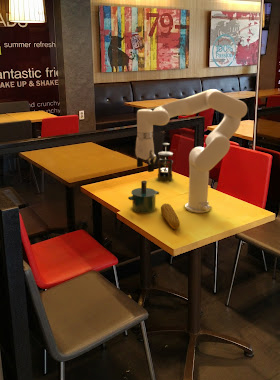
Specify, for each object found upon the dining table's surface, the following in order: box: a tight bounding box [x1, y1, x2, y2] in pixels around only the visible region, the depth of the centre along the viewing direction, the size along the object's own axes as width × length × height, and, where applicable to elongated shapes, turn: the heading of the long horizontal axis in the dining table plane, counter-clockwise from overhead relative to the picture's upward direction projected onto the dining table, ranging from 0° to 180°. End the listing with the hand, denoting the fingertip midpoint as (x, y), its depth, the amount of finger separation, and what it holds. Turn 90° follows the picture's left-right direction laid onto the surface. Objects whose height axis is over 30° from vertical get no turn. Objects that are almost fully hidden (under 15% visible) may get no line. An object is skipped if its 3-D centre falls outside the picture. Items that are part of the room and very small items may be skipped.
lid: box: [130, 180, 157, 198], centre depth 196 cm, size 12×12×7 cm
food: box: [160, 203, 181, 230], centre depth 183 cm, size 21×6×6 cm, turn 13°
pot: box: [128, 190, 160, 214], centre depth 197 cm, size 11×17×8 cm
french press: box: [156, 142, 174, 183], centre depth 241 cm, size 12×9×23 cm
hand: (145, 169), depth 194 cm, fingers open, 9 cm apart
